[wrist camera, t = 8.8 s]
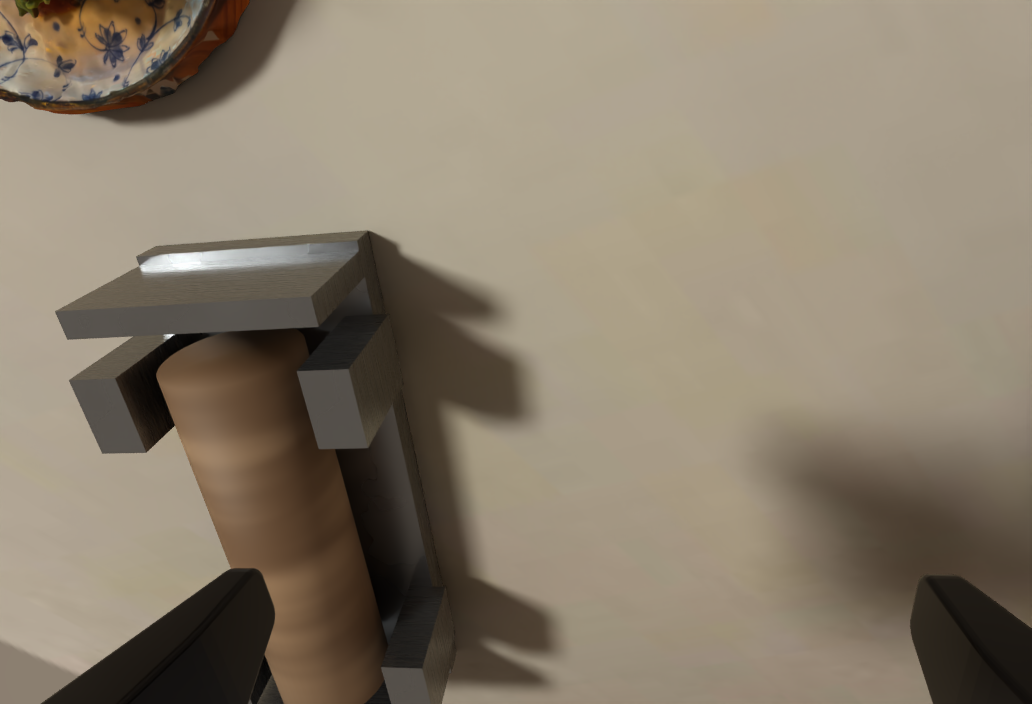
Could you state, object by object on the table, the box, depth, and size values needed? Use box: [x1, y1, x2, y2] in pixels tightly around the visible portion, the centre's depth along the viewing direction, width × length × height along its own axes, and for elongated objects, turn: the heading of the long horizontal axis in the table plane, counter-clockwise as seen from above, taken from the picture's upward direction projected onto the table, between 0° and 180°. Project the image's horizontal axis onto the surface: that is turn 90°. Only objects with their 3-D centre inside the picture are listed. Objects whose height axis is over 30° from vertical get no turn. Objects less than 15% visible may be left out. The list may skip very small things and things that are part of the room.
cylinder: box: [156, 328, 388, 704], centre depth 22 cm, size 13×4×4 cm, turn 6°
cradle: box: [55, 231, 456, 704], centre depth 22 cm, size 8×18×4 cm, turn 6°
